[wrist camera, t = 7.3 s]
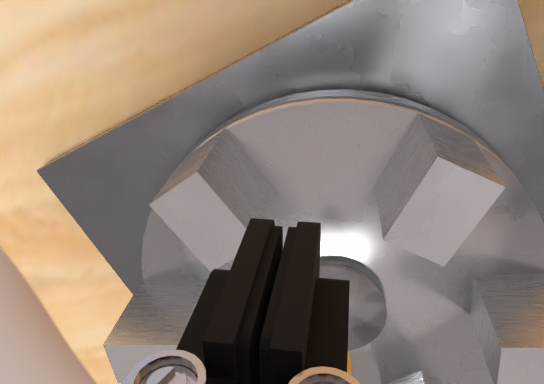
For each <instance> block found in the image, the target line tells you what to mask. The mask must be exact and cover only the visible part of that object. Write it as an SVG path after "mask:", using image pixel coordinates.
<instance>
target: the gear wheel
mask: <svg viewBox="0 0 544 384" xmlns="http://www.w3.org/2000/svg"><path fill="white" fill-rule="evenodd" d="M149 206H150V207H151V208H152V210H151V212H150V215H149V217H148V220H147V224H146V228H145V232H144V237H143V244H142V257H141V262H142V274H143V281H142V282H141V284H140V285H139V287H138V288H137V290H136V292H135V293H134V295H133V297H132V298H131V300H130V302H129V303H128V305H127V306H126V308H125V310H124V311H123V313H122V315H121V316H120V318H119V320H118V321H117V323H116V324H115V326H114V328H113V329H112V331H111V333H110V334H109V336H108V338H107V339H106V341H105V343H104V344H103V345H104V348H105V351H106V353H107V356H108V358H109V361H110V364H111V366H112V369H113V371H114V374H115V376H116V379H117V382H118V383H122V382H123V381H124V379H125V378H126V377H127V375H128V374H129V373H130V371H131V370H132V369H133V368H134V367H135V366H136V365H137V364H138V363H139V362H140V361H142V360H143V359H145V358H146V357H148V356H149V355H152V354H155V353H157V352H160V351H165V350H172V349H174V350H176V348H177V346H178V344H179V342H180V339H181V337H182V335H183V333H184V331H185V328H186V326H187V324H188V322H189V320H190V317H191V315H192V313H193V311H194V308H195V306H196V304H197V302H198V300H199V297H200V295H201V293H202V291H203V288H204V286H205V284H206V282H207V280H208V277H209V275H210V273H211V272H212V270H214V269H222V270H230V269H231V266H232V264H233V261H234V259H235V256H236V254H237V251H238V249H239V246H240V244H241V241H242V239H243V236H244V234H245V231H246V228H247V226H248V223H249V221H250V219H251V218H257V219H272V220H274V223H275V226H282V229H283V246H284V242H285V238H286V234H287V230H288V227H297V222H298V221H302V222H317V223H321V241H320V274H319V278H328V279H340V280H350V291H349V325H348V358H347V373H348V374H350V375H351V376H352V377H354V378H355V379H357V380H358V382H359V383H360V384H544V223H543V221H542V219H541V216H540V214H539V212H538V210H537V208H536V206H535V204H534V202H533V200H532V199H531V197H530V196H529V195H528V193H527V192H526V190H525V189H524V188H523V186H522V185H521V183H520V182H519V181H518V179H517V178H516V177H515V175H514V174H513V173H512V171H511V170H510V169H509V167H508V166H507V165H506V163H505V162H504V161H503V159H502V158H501V157H500V156H499V155H498V154H497V153H496V152H495V151H494V150H493V149H492V148H491V147H490V146H489V145H488V144H487V143H486V142H485V141H484V140H483V139H481V138H480V137H479V136H477V135H476V134H475V133H473V132H472V131H471V130H469V129H468V128H467V127H465V126H464V125H463V124H461V123H459V122H458V121H456V120H454V119H452V118H450V117H449V116H447V115H445V114H443V113H441V112H439V111H438V110H436V109H433V108H430V107H428V106H425V105H422V104H420V103H417V102H415V101H412V100H409V99H406V98H401V97H397V96H393V95H389V94H384V93H380V92H371V91H362V90H352V89H339V90H316V91H310V92H303V93H297V94H291V95H287V96H284V97H280V98H277V99H274V100H270V101H267V102H263V103H261V104H259V105H257V106H254V107H252V108H250V109H248V110H245V111H243V112H241V113H239V114H237V115H235V116H234V117H232V118H231V119H229V120H227V121H226V122H224V123H223V124H221V125H219V126H218V127H216V128H215V129H214V130H213V131H212V132H210V133H209V134H208V135H207V136H206V137H204V138H203V139H202V140H201V141H200V142H199V143H197V145H196V146H195V147H194V148H193V149H192V150H191V151H190V153H189V154H188V155H187V156H186V157H185V158H184V159H183V161H182V162H181V163H180V164H179V166H178V167H177V168H176V170H175V171H174V172H173V174H172V175H171V176H170V178H169V179H168V181H167V182H166V183H165V185H164V186H163V187H162V189H161V190H160V191H159V193H158V194H157V195H156V197H155V198H154V199H153V200H152V202H151V203H150V204H149Z"/></svg>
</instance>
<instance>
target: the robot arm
mask: <svg viewBox="0 0 544 384" xmlns="http://www.w3.org/2000/svg"><path fill="white" fill-rule="evenodd" d="M320 241H321V223H317V222H302V221H298V222H297V227H288V230H287V234H286V238H285V242H284V246H283V229H282V226H275V223H274V220H272V219H257V218H251V219H250V221H249V223H248V226H247V228H246V231H245V234H244V236H243V239H242V241H241V244H240V246H239V249H238V251H237V254H236V256H235V259H234V261H233V264H232V266H231V269H230V270H222V269H214V270H212V272H211V273H210V275H209V277H208V280H207V282H206V284H205V286H204V288H203V291H202V293H201V295H200V297H199V300H198V302H197V304H196V306H195V308H194V311H193V313H192V315H191V317H190V320H189V322H188V324H187V326H186V328H185V331H184V333H183V335H182V337H181V339H180V342H179V344H178V346H177V348H176V350H174V349H172V350H165V351H160V352H157V353H155V354H152V355H149V356H148V357H146V358H145V359H143V360H142V361H140V362H139V363H138V364H137V365H136V366H135V367H134V368H133V369H132V370H131V371H130V373H129V374H128V375H127V377H126V378H125V379H124V381H123V382H122V384H360V383H359V382H358V380H357V379H355V378H354V377H352V376H351V375H350V374H348V373H347V358H348V325H349V291H350V280H340V279H328V278H319V274H320Z"/></svg>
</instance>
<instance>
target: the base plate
mask: <svg viewBox="0 0 544 384" xmlns="http://www.w3.org/2000/svg"><path fill="white" fill-rule="evenodd" d="M339 89H352V90H362V91H371V92H380V93H384V94H389V95H393V96H397V97H401V98H406V99H409V100H412V101H415V102H417V103H420V104H422V105H425V106H428V107H430V108H433V109H436V110H438V111H439V112H441V113H443V114H445V115H447V116H449V117H450V118H452V119H454V120H456V121H458V122H459V123H461V124H463V125H464V126H465V127H467V128H468V129H469V130H471V131H472V132H473V133H475V134H476V135H477V136H479V137H480V138H481V139H483V140H484V141H485V142H486V143H487V144H488V145H489V146H490V147H491V148H492V149H493V150H494V151H495V152H496V153H497V154H498V155H499V156H500V157H501V158H502V159H503V161H504V162H505V163H506V165H507V166H508V167H509V169H510V170H511V171H512V173H513V174H514V175H515V177H516V178H517V179H518V181H519V182H520V183H521V185H522V186H523V188H524V189H525V190H526V192H527V193H528V195H529V196H530V197H531V199H532V200H533V202H534V204H535V206H536V208H537V210H538V212H539V214H540V216H541V219H542V221H543V223H544V89H543V85H542V82H541V79H540V75H539V72H538V69H537V65H536V62H535V59H534V55H533V52H532V49H531V45H530V42H529V38H528V35H527V32H526V28H525V25H524V22H523V18H522V15H521V12H520V8H519V5H518V2H517V0H350V1H348V2H346V3H344V4H342V5H340V6H338V7H337V8H335V9H333V10H331V11H329V12H327V13H325V14H324V15H322V16H320V17H318V18H316V19H314V20H312V21H311V22H309V23H307V24H305V25H303V26H301V27H299V28H297V29H296V30H294V31H292V32H290V33H288V34H286V35H284V36H283V37H281V38H279V39H277V40H275V41H273V42H271V43H270V44H268V45H266V46H264V47H262V48H260V49H258V50H257V51H255V52H253V53H251V54H249V55H247V56H245V57H244V58H242V59H240V60H238V61H236V62H234V63H232V64H230V65H229V66H227V67H225V68H223V69H221V70H219V71H217V72H216V73H214V74H212V75H210V76H208V77H206V78H204V79H203V80H201V81H199V82H197V83H195V84H193V85H191V86H190V87H188V88H186V89H184V90H182V91H180V92H178V93H177V94H175V95H173V96H171V97H169V98H167V99H165V100H164V101H162V102H160V103H158V104H156V105H154V106H152V107H150V108H149V109H147V110H145V111H143V112H141V113H139V114H137V115H136V116H134V117H132V118H130V119H128V120H126V121H124V122H123V123H121V124H119V125H117V126H115V127H113V128H111V129H110V130H108V131H106V132H104V133H102V134H100V135H98V136H97V137H95V138H93V139H91V140H89V141H87V142H85V143H84V144H82V145H80V146H78V147H76V148H74V149H72V150H70V151H69V152H67V153H65V154H63V155H61V156H59V157H57V158H56V159H54V160H52V161H50V162H48V163H46V164H45V165H44V166H42V167H41V168H39V169H38V170H37V172H38V173H39V175H40V176H41V177H42V178H43V180H44V181H45V182H46V184H47V185H48V186H49V187H50V189H51V190H52V191H53V193H54V194H55V195H56V196H57V198H58V199H59V200H60V201H61V203H62V204H63V205H64V207H65V208H66V209H67V210H68V212H69V213H70V214H71V216H72V217H73V218H74V219H75V221H76V222H77V223H78V225H79V226H80V227H81V228H82V230H83V231H84V232H85V234H86V235H87V236H88V237H89V239H90V240H91V241H92V242H93V244H94V245H95V246H96V248H97V249H98V250H99V251H100V253H101V254H102V255H103V257H104V258H105V259H106V260H107V262H108V263H109V264H110V266H111V267H112V268H113V269H114V271H115V272H116V273H117V275H118V276H119V277H120V278H121V280H122V281H123V282H124V283H125V285H126V286H127V287H128V289H129V290H130V291H131V292H132V294H133V295H134V293H135V292H136V290H137V288H138V287H139V285H140V284H141V282H142V281H143V274H142V262H141V257H142V244H143V237H144V232H145V228H146V224H147V220H148V217H149V215H150V212H151V210H152V208H151V207H150V206H149V204H150V203H151V202H152V200H153V199H154V198H155V197H156V195H157V194H158V193H159V191H160V190H161V189H162V187H163V186H164V185H165V183H166V182H167V181H168V179H169V178H170V176H171V175H172V174H173V172H174V171H175V170H176V168H177V167H178V166H179V164H180V163H181V162H182V161H183V159H184V158H185V157H186V156H187V155H188V154H189V153H190V151H191V150H192V149H193V148H194V147H195V146H196V145H197V143H199V142H200V141H201V140H202V139H203V138H204V137H206V136H207V135H208V134H209V133H210V132H212V131H213V130H214V129H215V128H216V127H218V126H219V125H221V124H223V123H224V122H226V121H227V120H229V119H231V118H232V117H234V116H235V115H237V114H239V113H241V112H243V111H245V110H248V109H250V108H252V107H254V106H257V105H259V104H261V103H263V102H267V101H270V100H274V99H277V98H280V97H284V96H287V95H291V94H297V93H303V92H310V91H316V90H339Z"/></svg>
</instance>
